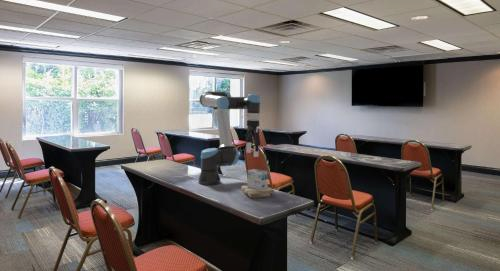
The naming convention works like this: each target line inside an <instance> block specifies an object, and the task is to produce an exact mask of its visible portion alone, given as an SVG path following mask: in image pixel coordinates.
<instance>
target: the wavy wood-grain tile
mask: <svg viewBox="0 0 500 271" xmlns="http://www.w3.org/2000/svg"><path fill="white" fill-rule="evenodd" d="M240 188H241V190H243V191H244V193H245V194H246V195H247V196H248V197H249V198H250V199H253V198H255V199H257V198H267V197H271V193H275V189H273V188H272V187H270V186H268V185H267V188H266V189H263V190H258V189H253V188H247V185H240Z"/></svg>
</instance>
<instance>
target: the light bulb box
mask: <svg viewBox="0 0 500 271" xmlns="http://www.w3.org/2000/svg"><path fill="white" fill-rule="evenodd" d="M267 186H268V170H263V169H255V168H252V169H248V170H247V188H253V189H258V190H263V189H266V188H267Z"/></svg>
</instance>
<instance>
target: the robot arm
mask: <svg viewBox="0 0 500 271" xmlns="http://www.w3.org/2000/svg"><path fill="white" fill-rule="evenodd" d="M199 103H200V105H201V106H203V107H204V108H208V109H209V108H211V109H213V110H214V113H216V118H217V119H216V120H217V130H218V138H219V147H217V148H216V147H211V148H206V149H203V150H201V152H200V174H199V177H198V182H197V183H198V184H200V185H206V186H211V185H218V184H220V183H221V177H220V173H219V168H220V167H231V166H235V165H237V164H238V162H239V159H240V153H239V150H238V149H237V148H235V145H234V143H233V140H232V131H231V123H230V115H229V112H230V110H246V112H247V113H246V119H247V120H246V126H247V127H246V128H247V129H246V134H245V139H244V141H246V151H245V152H246V154H248V153H249V154H251V153H252V139H253V158H256V157H257V158H259V154H260V153H259V152H260V150H259V146H261V139H260V129H258V128H257V127H260V118H261V117H260V115H261V113H260V111H261V110H260V109H261V108H260V107H261V96H260V94H258V93H257V94H256V93H254V94H253V93H252V94H251V93H250V94H248V95H247V96H232V95H231V93H229V92H228V91H205V92H203V93H202V94H201V95H200V96H199Z"/></svg>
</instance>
